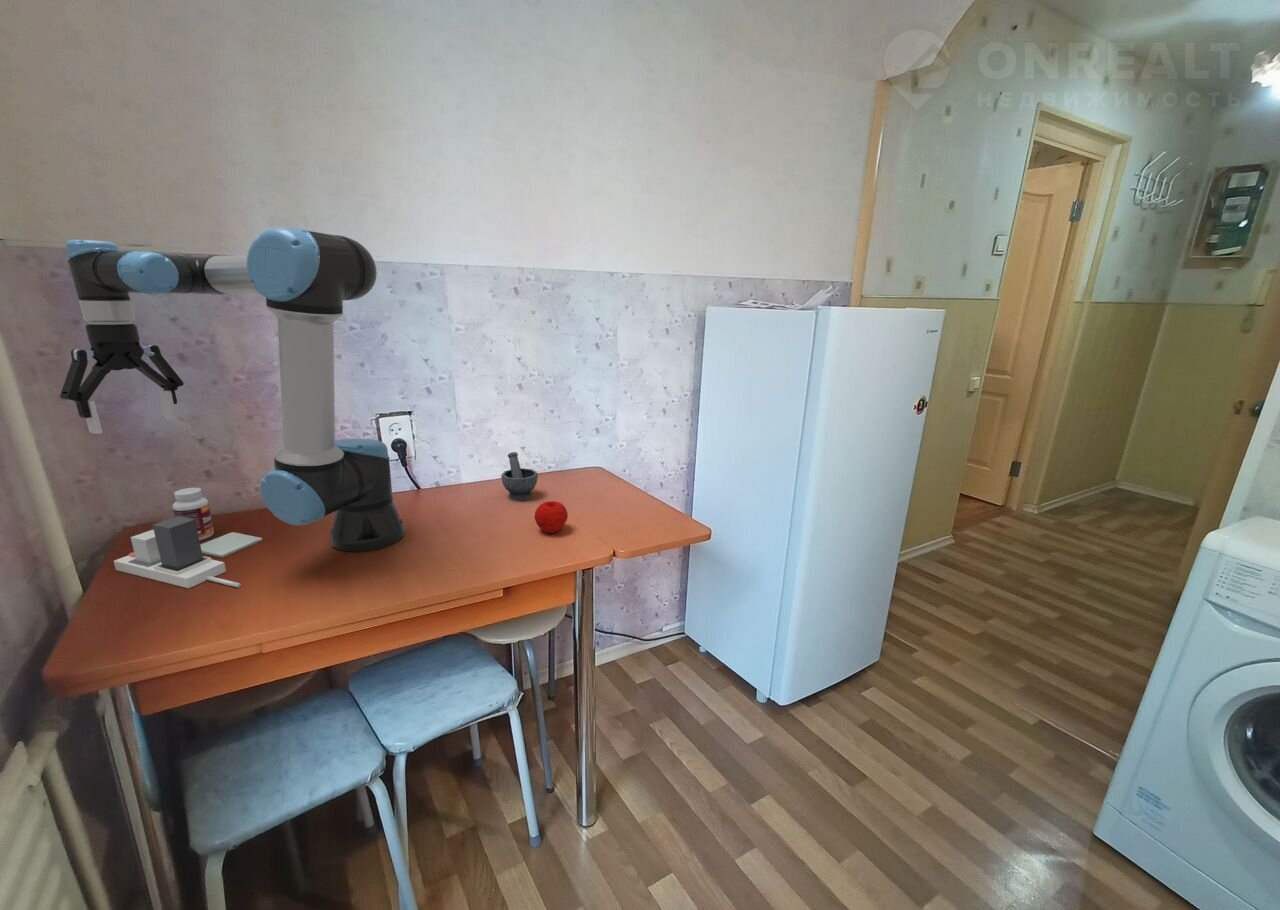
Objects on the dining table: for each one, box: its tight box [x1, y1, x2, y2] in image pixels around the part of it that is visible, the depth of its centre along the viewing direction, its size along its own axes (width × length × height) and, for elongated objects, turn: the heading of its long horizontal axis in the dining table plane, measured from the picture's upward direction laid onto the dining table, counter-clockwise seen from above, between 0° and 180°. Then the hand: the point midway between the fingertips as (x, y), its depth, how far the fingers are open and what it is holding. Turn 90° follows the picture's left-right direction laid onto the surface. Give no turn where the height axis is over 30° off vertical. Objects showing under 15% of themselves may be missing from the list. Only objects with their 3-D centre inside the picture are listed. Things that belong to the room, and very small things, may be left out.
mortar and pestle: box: [501, 451, 539, 502], centre depth 152 cm, size 11×9×12 cm
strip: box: [113, 529, 241, 589], centre depth 106 cm, size 28×7×7 cm, turn 72°
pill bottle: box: [172, 487, 215, 541], centre depth 121 cm, size 6×6×11 cm
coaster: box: [200, 531, 263, 558], centre depth 119 cm, size 9×9×1 cm
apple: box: [534, 500, 569, 534], centre depth 131 cm, size 8×8×7 cm
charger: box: [152, 516, 204, 571], centre depth 105 cm, size 4×5×9 cm
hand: (135, 426), depth 115 cm, fingers open, 13 cm apart
